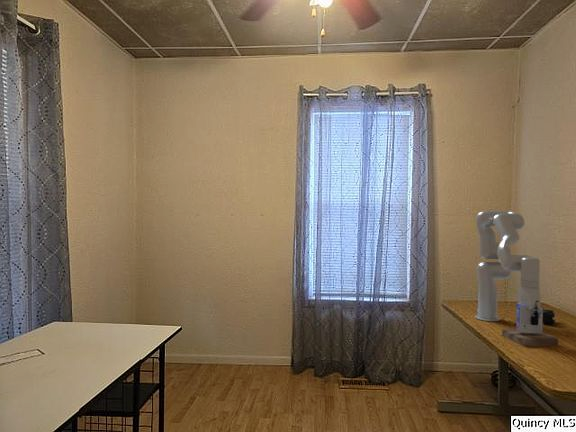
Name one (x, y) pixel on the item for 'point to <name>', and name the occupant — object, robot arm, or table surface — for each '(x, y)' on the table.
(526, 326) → the ink cartridge box
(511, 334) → the walnut base
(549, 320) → the end cap
